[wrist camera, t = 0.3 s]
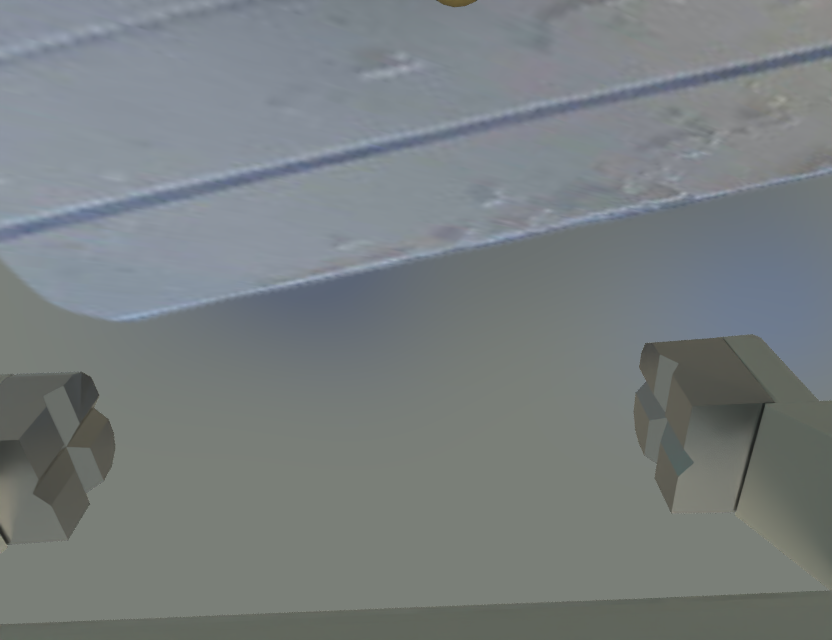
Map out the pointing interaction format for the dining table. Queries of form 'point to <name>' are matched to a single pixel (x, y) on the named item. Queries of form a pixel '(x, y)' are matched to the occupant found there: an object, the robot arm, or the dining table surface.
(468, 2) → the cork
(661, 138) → the dining table surface
